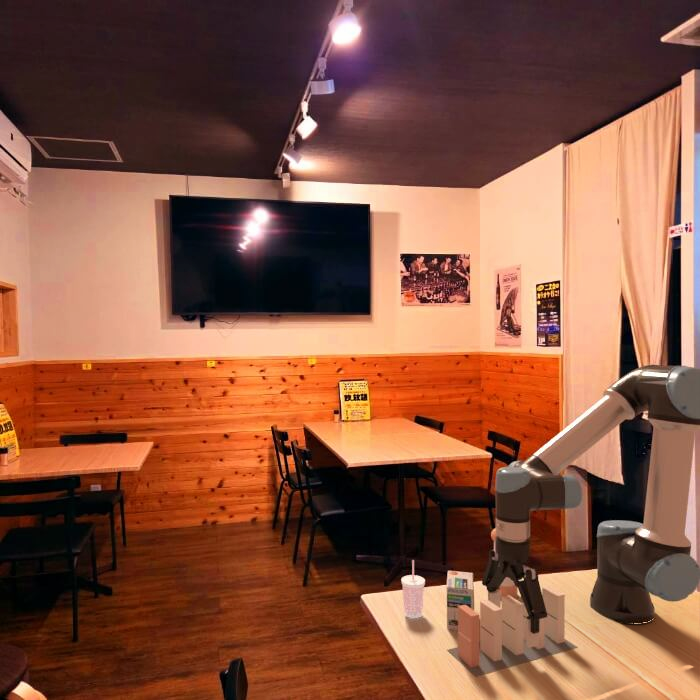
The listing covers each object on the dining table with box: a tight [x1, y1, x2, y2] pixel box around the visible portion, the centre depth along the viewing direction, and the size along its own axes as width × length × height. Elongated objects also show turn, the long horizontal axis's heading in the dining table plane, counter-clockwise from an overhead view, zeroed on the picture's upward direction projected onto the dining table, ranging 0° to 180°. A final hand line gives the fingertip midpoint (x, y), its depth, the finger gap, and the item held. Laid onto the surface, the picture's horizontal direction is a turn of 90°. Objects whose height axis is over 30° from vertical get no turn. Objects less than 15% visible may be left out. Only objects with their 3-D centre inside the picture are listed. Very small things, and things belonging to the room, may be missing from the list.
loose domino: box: [501, 595, 523, 655], centre depth 126 cm, size 2×5×11 cm, turn 24°
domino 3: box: [521, 599, 544, 649], centre depth 128 cm, size 2×5×11 cm, turn 24°
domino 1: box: [457, 605, 480, 668], centre depth 121 cm, size 2×5×11 cm, turn 23°
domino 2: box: [479, 599, 502, 661], centre depth 123 cm, size 2×5×11 cm, turn 24°
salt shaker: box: [490, 527, 518, 601], centre depth 154 cm, size 7×7×19 cm
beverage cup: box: [400, 559, 426, 619], centre depth 143 cm, size 6×6×14 cm
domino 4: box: [541, 585, 566, 643], centre depth 130 cm, size 2×5×11 cm, turn 23°
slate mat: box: [446, 635, 578, 677], centre depth 126 cm, size 28×11×1 cm, turn 113°
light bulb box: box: [446, 570, 475, 631], centre depth 139 cm, size 11×7×11 cm, turn 168°
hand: (512, 632), depth 126 cm, fingers open, 12 cm apart
